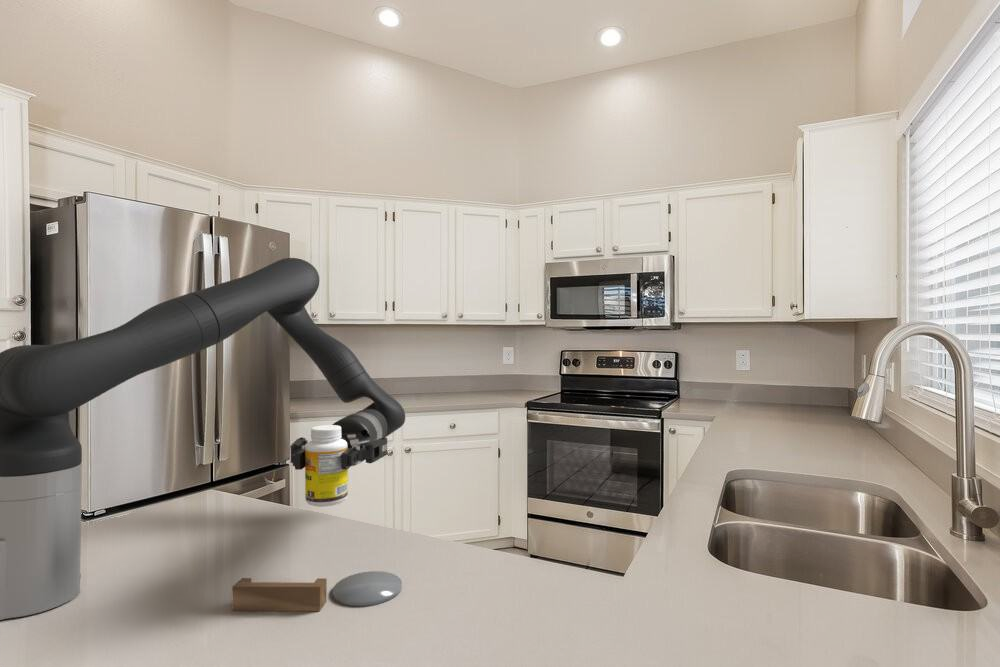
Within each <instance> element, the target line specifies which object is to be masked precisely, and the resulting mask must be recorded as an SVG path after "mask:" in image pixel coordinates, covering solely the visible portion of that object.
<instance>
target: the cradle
mask: <svg viewBox="0 0 1000 667" xmlns="http://www.w3.org/2000/svg"><path fill="white" fill-rule="evenodd" d="M327 581H328V580H327V578H325V577H324V578H323V577H322V578H319V577H318V578H316V580H315V581H313V582H287V581H286V582H282V581H281V582H276V581H275V582H274V581H273V582H271V581H270V582H268V581H264V582H263V581H262V582H261V581H260V582H259V581H257V582H255V581H253V582H252V578H251V577H242V578H241V579H240V580H238V581H237V582H236V583H235V584H233V586H232V611H236V612H237V611H239V612H242V611H243V612H321V611H322V609H323V607H324V606H325V605H326V603H327V584H328V583H327Z"/></svg>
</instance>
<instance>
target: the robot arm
mask: <svg viewBox="0 0 1000 667" xmlns="http://www.w3.org/2000/svg"><path fill="white" fill-rule="evenodd" d="M319 286H320V275H319V272H318V270H317V268H316V267H315V266H314V265H313V264H311V263H310V262H309V261H307V260H304V259H301V258H297V257H287V258H285V257H284V258H281V259H278V260H277V261H275V262H272V263H270V264H268V265H265V266H264V267H261V268H259V269H257V270H255V271H253V272H250V273H249V274H246V275H244V276H241V277H238V278H234V279H231V280H227V281H224V282H221V283H218V284H214V285H212V286H210V287H209V286H208V287H206V288H202V289H200V290H196V291H193V292H190V293H189V292H188V293H186V294H183V295H180V296H176V297H174V298H171V299H168V300H165V301H163V302H160V303H158V304H155V305H153V306H151V307H149V308H147V309H146V310H144V311H143V312H141V313H139V314H138V315H136V316H134V317H132V319H130V320H129V321H127V322H125V323H123V324H121V325H119V326H117V327H115V328H113V329H110V330H107V331H103V332H100V333H96V334H93V335H89V336H86V337H82V338H78V339H75V340H71V341H70V340H69V341H65V342H60V343H55V344H28V345H27V344H25V345H18V346H14V347H10V348H7V349H5V350H3V351H1V352H0V621H2V620H6V619H12V618H14V619H15V618H20V617H26V616H31V615H35V614H38V613H39V614H40V613H42V612H45V611H49V610H51V609H54V608H57V607H59V606H61V605H64V604H65V603H67V602H69V601H71V600H73V599H74V598H75V597H77V596H78V595H79V593H80V591H81V579H82V578H81V577H82V576H81V575H82V574H81V573H82V572H81V555H82V554H81V553H82V552H81V550H82V549H81V546H82V544H81V543H82V540H81V538H82V484H83V483H82V481H83V480H82V479H83V478H82V475H83V472H82V471H83V464H82V462H83V450H82V449H83V448H82V444H81V442H80V441H79V439H78V438H77V437H76V435H75V434H74V433H73V430H72V428H71V424H70V412H72V411H74V410H75V409H78V408H79V407H81V406H83V405H85V404H86V403H88V402H91V401H92V400H94V399H96V398H98V397H100V396H101V395H103V394H105V393H106V392H109V391H110V390H112V389H114V388H117V386H119V385H121V384H123V383H125V382H127V381H128V380H130V379H133V378H135V377H136V376H139V375H141V374H144V373H147V372H149V371H152V370H155V369H158V368H160V367H164V366H166V365H169V364H171V363H174V362H176V361H179V360H182V359H184V358H186V357H189V356H191V355H194V354H197V353H199V352H202V351H203V350H206V349H208V348H210V347H213V346H215V345H217V344H220V343H221V342H222V341H224V340H226V339H228V338H229V337H232V336H233V335H234V334H235V333H237V332H238V331H241V330H242V329H243V328H244V327H246V326H247V325H248V324H250V323H252V321H254V320H255V319H257V318H258V317H260V316H262V315H263V314H265V313H266V312H267V313H268V314H269V316H271V317H272V319H273V320H274V321H276V323H277V324H278V325H279V326H280V327H281V328H282V329H283V330H284V331H285V332H286V333H287V334H288V335H289V337H290V338H292V340H293V341H294V342H295V343H296V344H297V345H299V347H300V348H301V349H302V350H303V351H304V353H306V354H307V355H308V357H309V358H310V359H311V360H312V362H313V363H314V364H315V365H316V366H317V368H318V369H319V370H320V372H321V373H322V375H323V376H324V378H325V379H326V380H327V382H328V383H329V385H330V386H331V388H332V390H333V391H334V393H335V394H336V395H337V397H338V398H339V399H340V401H341V402H343V403H345V404H348V403H351V402H354V401H357V400H359V399H361V398H368V399H370V400H371V401H372V403H371V404H369V405H368V406H366V407H364V408H363V409H361V410H358V411H356V412H354V413H351V414H348V415H345V416H343V418H341V419H339V420H337V421H335V422H334V423H332V424H331V425H338V426H341V434H342V435H341V436H342V437H341V438H340V439H343V440H345V441H346V442H347V447H348V449H347V450H346V451H344V452H343V453H342V455H341V469H342V470H347V469H348V470H349V469H350V468H351V467H355V466H357V465H359V464H361V463H362V462H364V461H365V463H367V464H373V463H375V462H377V461H379V460H380V459H382V458H384V457H385V456H387V455H388V436H390V435H391V434H394V432H396V431H397V430H399V429H400V428H401V427H403V425H405V421H406V411H405V409H404V408H403V406H402V405H401V404H400V402H398V400H396V399H395V398H394V397H392V396H391V395H390V394H389V393H388V392H386V391H385V390H384V389H383V388H382V387H380V386H379V384H378V383H376V381H374V380H373V378H372V377H371V375H369V373H368V372H367V370H366V369H365V367H364V366H363V364H362V363H361V362H360V360H359V359H358V357H357V356H356V355H355V353H353V351H352V350H351V348H349V347H348V346H347V345H346V344H344V343H343V342H341V341H340V340H338V339H336V338H335V337H333V336H331V335H330V334H329V333H326V332H325V331H324V330H323V329H321V328H320V327H319V326H318V325H317V324H316V322H314V320H312V317H311V316H310V314H309V312H308V310H307V308H306V305H307V304H308V303H309V302H310V301H311V300H312V299H313V297H314V296H315V295H316V293H317V291H318V289H319ZM308 442H309V440H308V439H306V438H305V437H298V438H297V439H295V440H294V442H292V443H291V445H290V463H291V464H292V467H294V469H295V471H298V470H299V471H300V470H301V471H302V470H303V469H305V445H306V444H307V443H308Z"/></svg>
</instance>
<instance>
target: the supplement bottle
mask: <svg viewBox="0 0 1000 667" xmlns="http://www.w3.org/2000/svg"><path fill="white" fill-rule="evenodd" d="M341 435H342V434H341V426H338V425H332V424H324V425H323V424H322V425H317V426H313V427H311V428H310V440H308V443H307V444H306V445H305V467H304V478H305V479H304V482H305V484H304V487H305V488H304V490H305V501H306V503H307V504H308V505H310V506H313V507H319V508H320V507H322V508H323V507H331V506H332V507H333V506H336V505H340V504H341V503H343V502H345V501H346V500H347V498H348V492H349V490H348V485H349V484H348V481H349V480H348V479H349V478H348V477H349V476H348V475H349V474H348V473H349V472H348V470H349V469H347V470H342V469H341V455H342V453H343V452H344V451H346V450H347V449H348V447H347V442H346V441H345V440H343V439H340V438H341V437H342V436H341Z"/></svg>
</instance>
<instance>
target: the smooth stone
mask: <svg viewBox="0 0 1000 667" xmlns="http://www.w3.org/2000/svg"><path fill="white" fill-rule="evenodd" d="M402 582H403V581H402V579H401V578H400V577H399V576H398V575H396V574H395V573H391V572H387V571H375V570H373V571H364V572H359V573H355V574H354V573H353V574H351V575H347V576H346V577H344V578H342V579H340V580H339V581H338V582H336V583H335V584H334V587H333V590H332V596H333V599H334V600H335V601H336V602H338V603H339V604H342V605H344V606H348V607H359V608H361V607H370V606H371V607H372V606H375V605H376V606H377V605H380V604H383V603H386V602H388V601H391V600H393V599H394V598H396V597H397V596H398V595H399V594H400V593H401V591H402V588H403V587H402Z"/></svg>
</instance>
